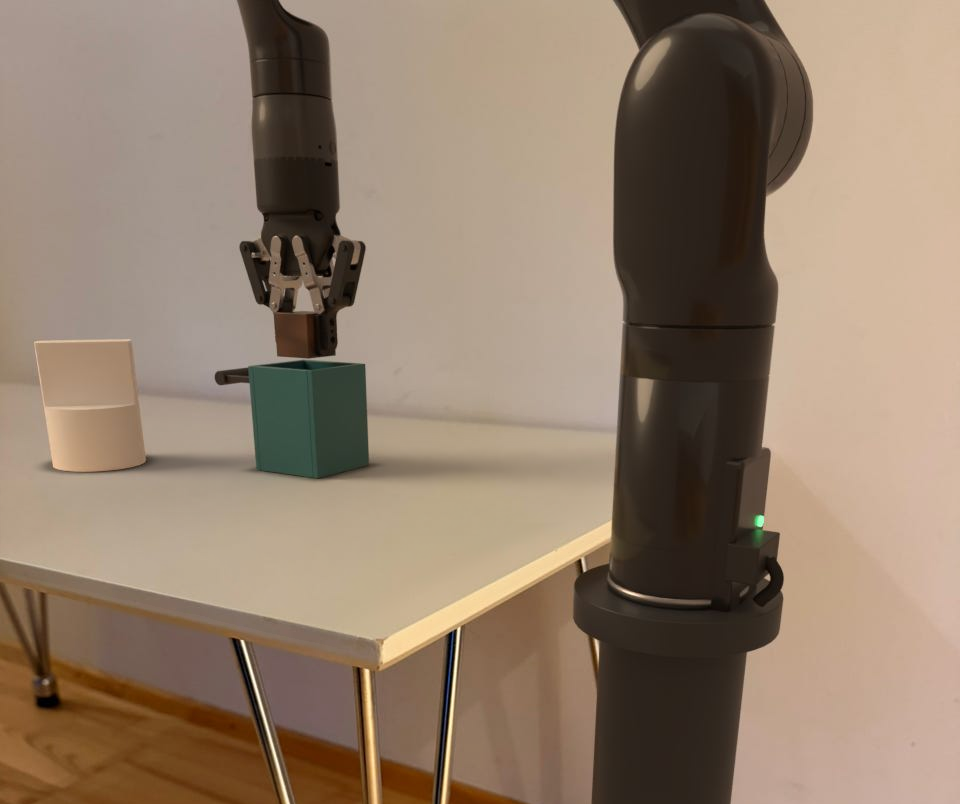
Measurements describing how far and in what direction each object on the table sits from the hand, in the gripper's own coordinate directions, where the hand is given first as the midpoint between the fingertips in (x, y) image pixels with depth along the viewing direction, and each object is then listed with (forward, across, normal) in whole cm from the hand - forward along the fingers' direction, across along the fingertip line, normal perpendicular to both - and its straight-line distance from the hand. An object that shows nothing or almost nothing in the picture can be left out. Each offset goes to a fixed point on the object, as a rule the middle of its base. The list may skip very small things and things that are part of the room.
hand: (307, 353), depth 95 cm
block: (0, 0, 0) cm, 0 cm away
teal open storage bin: (+6, +4, 0) cm, 7 cm away
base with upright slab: (+11, -20, -10) cm, 25 cm away
